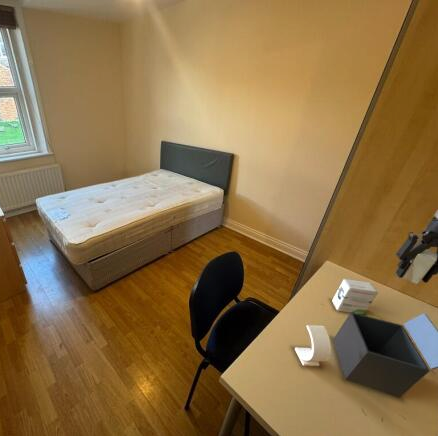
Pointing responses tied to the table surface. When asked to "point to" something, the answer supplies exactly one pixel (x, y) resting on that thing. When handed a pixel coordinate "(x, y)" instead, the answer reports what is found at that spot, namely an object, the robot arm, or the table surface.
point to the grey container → (378, 355)
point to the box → (420, 266)
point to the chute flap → (425, 338)
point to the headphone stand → (315, 347)
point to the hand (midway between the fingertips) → (410, 277)
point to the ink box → (354, 296)
